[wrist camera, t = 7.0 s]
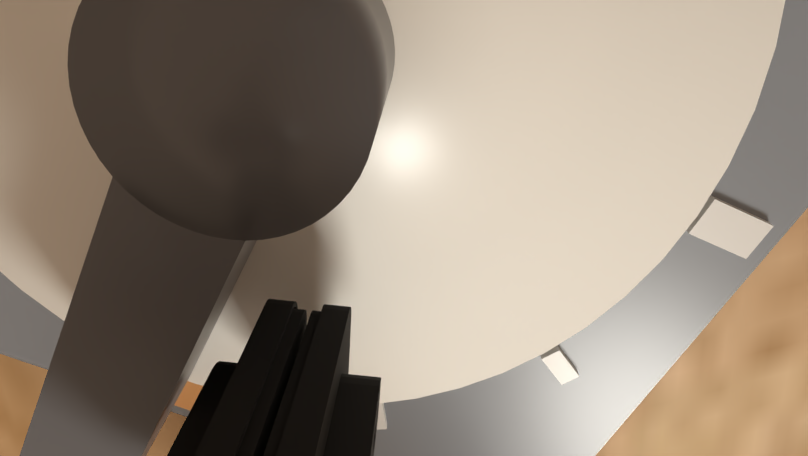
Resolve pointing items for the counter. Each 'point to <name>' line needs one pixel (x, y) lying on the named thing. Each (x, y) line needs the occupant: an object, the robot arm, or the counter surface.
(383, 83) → the dial
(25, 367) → the counter surface
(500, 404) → the dial plate
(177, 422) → the counter surface
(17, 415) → the counter surface
